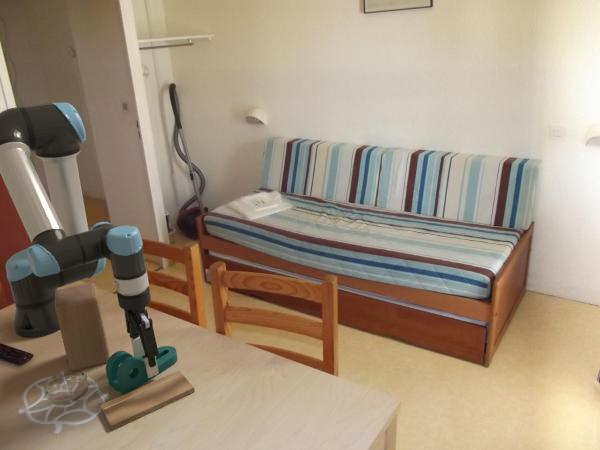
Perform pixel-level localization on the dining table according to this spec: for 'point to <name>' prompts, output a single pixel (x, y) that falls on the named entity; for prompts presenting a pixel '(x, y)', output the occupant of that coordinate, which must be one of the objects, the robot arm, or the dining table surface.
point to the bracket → (135, 368)
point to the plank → (146, 399)
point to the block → (81, 326)
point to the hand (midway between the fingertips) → (146, 367)
